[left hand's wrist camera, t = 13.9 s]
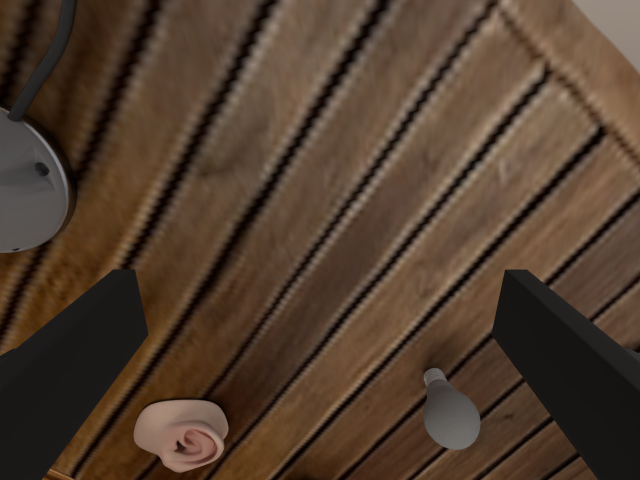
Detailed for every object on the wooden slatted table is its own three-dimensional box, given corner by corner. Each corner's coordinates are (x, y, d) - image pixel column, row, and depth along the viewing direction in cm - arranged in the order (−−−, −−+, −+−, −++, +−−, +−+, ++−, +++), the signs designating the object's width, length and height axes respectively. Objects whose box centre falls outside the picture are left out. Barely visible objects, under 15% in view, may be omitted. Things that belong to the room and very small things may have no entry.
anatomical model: (122, 481, 48) (113, 418, 44) (136, 454, 51) (130, 393, 47) (221, 489, 48) (222, 427, 44) (228, 461, 52) (229, 402, 48)
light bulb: (407, 358, 45) (430, 425, 36) (454, 351, 45) (490, 417, 35) (411, 394, 47) (433, 466, 38) (456, 388, 47) (490, 459, 38)
